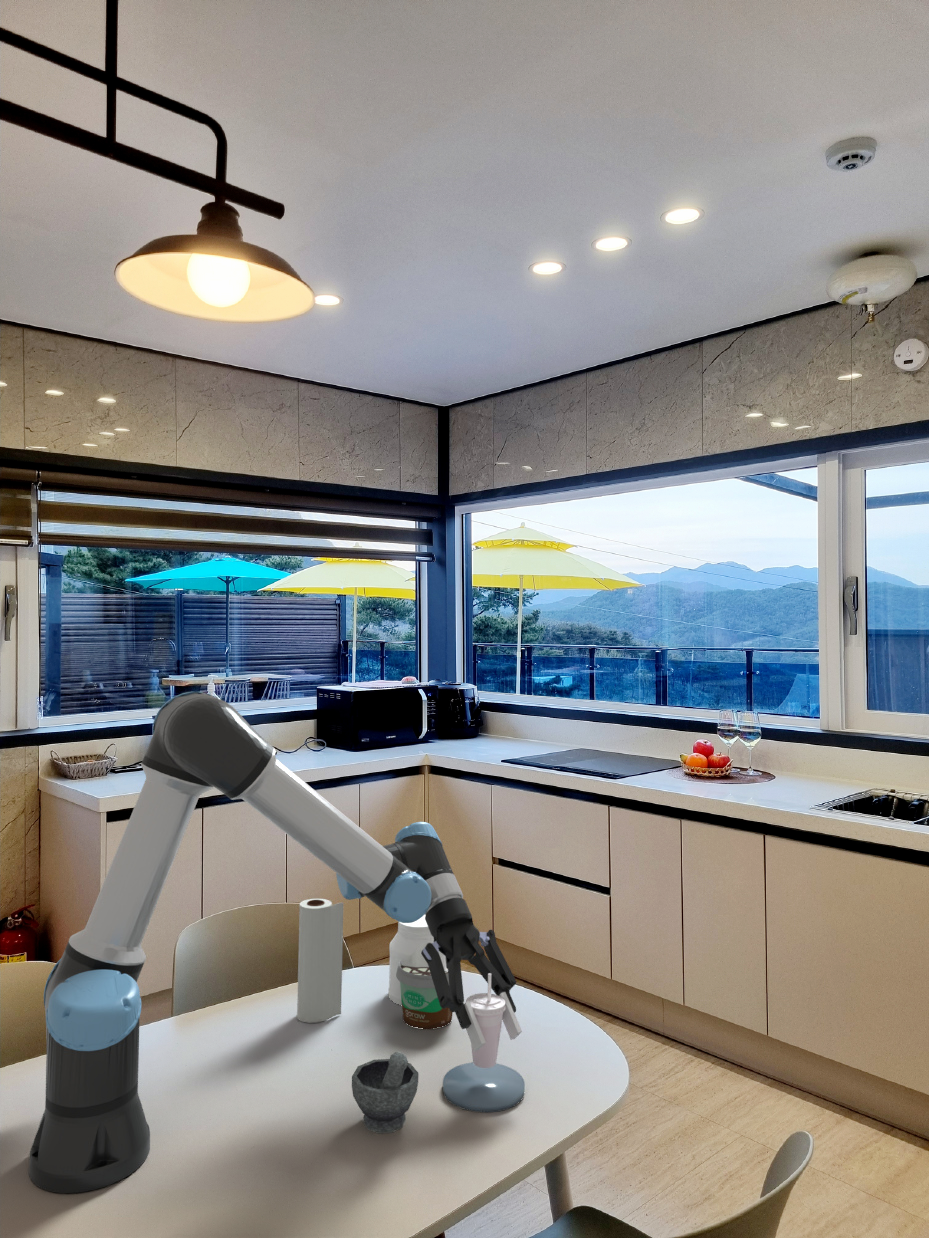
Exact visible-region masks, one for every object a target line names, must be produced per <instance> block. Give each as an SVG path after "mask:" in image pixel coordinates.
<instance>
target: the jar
mask: <svg viewBox="0 0 929 1238" xmlns="http://www.w3.org/2000/svg"><path fill="white" fill-rule="evenodd" d="M425 916H426V915H425V914H424V915H423V916H422V917H421V918H420V919H419V920H417V921H415V922H412V923H402V922H399V921H397V922H398V923H397V925H398V926H397V932H396V934H395V935H394V937H393V938H392V939H391V941H390V942H389V946H388V947H389V972H388V973H389V976H388V977H389V982H388V994H387V995H388V998H390V999H389V1000H390V1001H391V1000H392V1001H393V1002H392V1001H391V1002H392V1003H393V1004H395V1003H396V1004H395V1005H397V1004H399V1005H398V1006H400V1005H402V1001H401V987H400V981H399V980H398V979H397V977H396V973H397V968H398V965H399V963H400V961H402V965H403V966H410V967H429V966H428V963H427V962H426V960H425V959H424V957H423V956H422V954H421V952H422V950H423V949H424V948H425V946H426V945H427V944H428V943H433V942H434V937H433V936H432V935H431V933H430V931H429V928H428V925H427V923H426V920H425ZM439 955H440V958H441V961H442V964H443V967H444V971H446V972H447V968H446V958H445V955H443V954H442V953H441V952H440V951H439Z"/></svg>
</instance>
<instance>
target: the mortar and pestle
mask: <svg viewBox="0 0 929 1238" xmlns="http://www.w3.org/2000/svg"><path fill="white" fill-rule="evenodd" d="M418 1085H419V1072H418V1070H417V1069H416V1068H415V1067H414V1066H413V1065H412V1063H411V1062H409V1060H408V1057H407V1055H405V1053H403V1052H399V1051H396V1052H393V1053H392V1054H390V1057H389V1058H383V1059H382V1058H381V1059H372V1060H369V1061H367V1062H365V1063H363V1064H360V1065H358V1066H357V1067H356V1069H355V1070H354V1072H353V1074H352V1076H351V1092H352V1097H353V1099H354V1101H355V1102H356V1104H357V1106H358V1107H359V1109H360V1110H361V1112H362V1113H363V1114H364V1115H363V1121H362V1123H363V1125H364V1126H365V1128H366V1129H367V1130H368V1131H371V1132H374V1133H377V1134H389V1133H390V1134H391V1133H394V1132H395V1131H398V1130H400V1129H401V1128H403V1127H404V1125H405V1122H406V1113H407V1112H408V1111H409V1110H410V1107H411V1105H412V1103H413V1101H414V1098H416V1094H417V1091H418Z"/></svg>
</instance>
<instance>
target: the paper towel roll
mask: <svg viewBox="0 0 929 1238" xmlns="http://www.w3.org/2000/svg"><path fill="white" fill-rule="evenodd" d="M298 910H299V913H298V915H299V916H298V918H299V920H298V958H297V959H298V961H297V962H298V963H297V964H298V965H297V966H298V968H297V969H298V970H297V1003H296V1005H297V1008H296V1010H297V1011H296V1014H297V1015H296V1018H297V1019H298V1020H299V1021H300V1022H303V1023H309V1024H312V1023H316V1024H317V1023H320V1022H324V1021H328V1020H330V1019H331V1018H334V1017H336V1016H339V1015H341V1014H342V989H343V988H342V982H343V979H342V978H343V944H344V943H343V941H344V939H343V934H344V932H343V931H344V902H338V903H335V904H333V902H332V901H331V900H328V899H325V898H310V899H304V900H302V901H301V902H299V909H298Z"/></svg>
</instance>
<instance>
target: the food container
mask: <svg viewBox="0 0 929 1238" xmlns="http://www.w3.org/2000/svg"><path fill="white" fill-rule="evenodd" d="M445 974H446V977H447V980H448V983H449V977H448V971H447V970H446V971H445ZM396 977H397V979H398V980H399V981H400V987H401V1001H402V1006H401V1011H402V1021H403V1020H404V1021H403V1022H404V1024H405V1023H407V1024H408V1025H407V1024H406V1025H407V1026H409V1025H410V1026H413V1027H418V1028H423V1029H422V1030H426V1029H427V1030H434V1029H433V1028H437V1027H441V1028H443V1027H442V1026H444V1027H446V1026H448V1025H449V1024H451V1022H452V1021H451V1020H453V1013H454V1012H451V1011H450V1009H449V1008H447V1007H446V1008H445V1009H443V1008H442V1007H441V1006H440V1003H439V1000H438V996H437V993H436V990H435V986H434V983H433V980H432V976H431V973H430V970H429V967H410V966H403V965H402V961H400V963H399V965H398V968H397V973H396ZM448 1023H449V1024H448ZM447 1024H448V1025H447ZM445 1025H446V1026H445ZM410 1026H409V1027H410ZM413 1027H412V1028H413ZM437 1029H438V1028H437Z"/></svg>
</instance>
